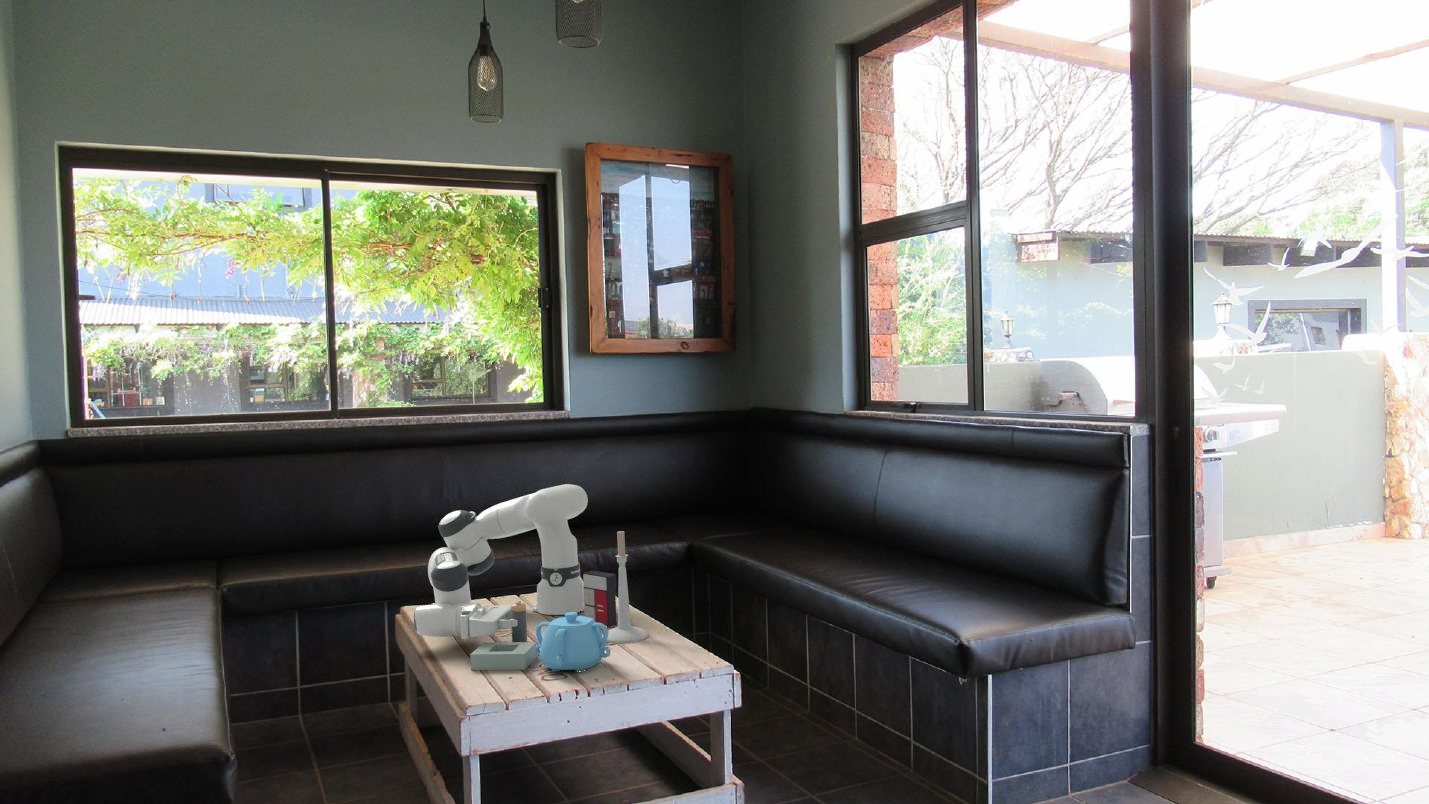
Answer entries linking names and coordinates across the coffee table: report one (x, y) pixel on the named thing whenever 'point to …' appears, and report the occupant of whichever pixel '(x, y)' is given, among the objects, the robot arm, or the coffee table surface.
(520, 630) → the battery cell
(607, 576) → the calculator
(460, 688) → the coffee table surface
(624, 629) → the candlestick
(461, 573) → the robot arm
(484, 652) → the block
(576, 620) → the decorative pot
